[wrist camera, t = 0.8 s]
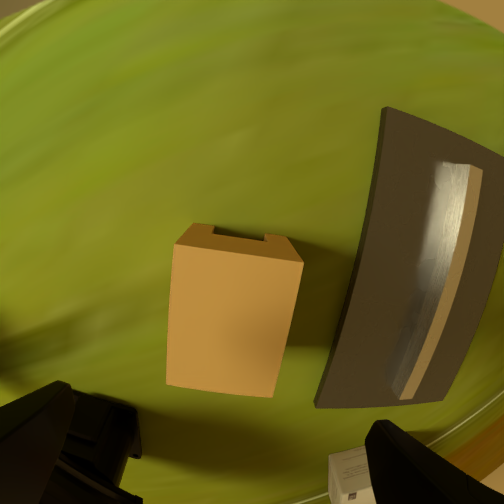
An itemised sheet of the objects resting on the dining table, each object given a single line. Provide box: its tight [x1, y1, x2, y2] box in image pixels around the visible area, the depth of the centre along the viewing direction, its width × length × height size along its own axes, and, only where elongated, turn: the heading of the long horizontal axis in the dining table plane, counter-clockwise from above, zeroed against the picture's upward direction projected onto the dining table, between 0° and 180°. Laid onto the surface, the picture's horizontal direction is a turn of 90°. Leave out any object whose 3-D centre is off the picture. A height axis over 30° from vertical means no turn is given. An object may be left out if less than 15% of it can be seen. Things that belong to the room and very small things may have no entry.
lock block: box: [166, 223, 304, 398], centre depth 16 cm, size 7×5×5 cm
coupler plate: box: [314, 106, 504, 408], centre depth 17 cm, size 20×12×2 cm, turn 171°
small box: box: [328, 432, 407, 504], centre depth 21 cm, size 8×8×5 cm
